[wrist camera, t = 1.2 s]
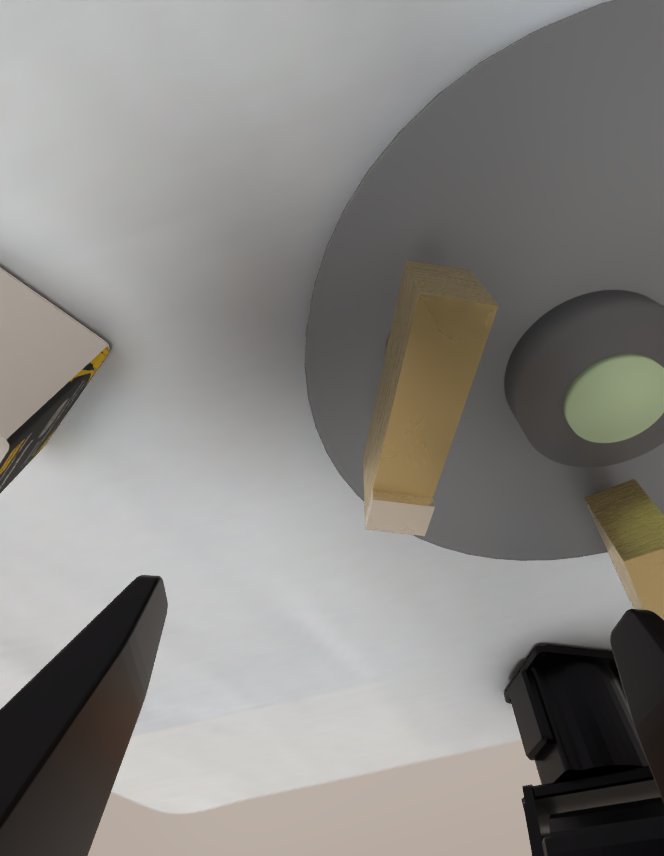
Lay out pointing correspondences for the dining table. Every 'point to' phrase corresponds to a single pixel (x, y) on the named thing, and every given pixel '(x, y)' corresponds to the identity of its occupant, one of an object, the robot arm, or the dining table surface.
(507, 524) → the levelling base
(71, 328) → the medicine bottle
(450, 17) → the dining table surface
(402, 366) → the wooden plank block
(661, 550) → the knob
